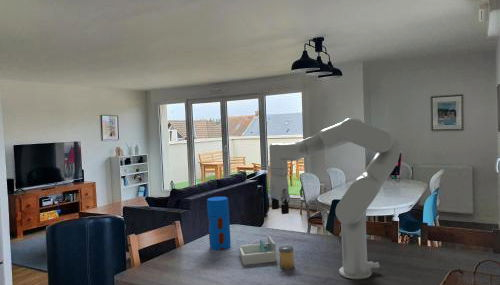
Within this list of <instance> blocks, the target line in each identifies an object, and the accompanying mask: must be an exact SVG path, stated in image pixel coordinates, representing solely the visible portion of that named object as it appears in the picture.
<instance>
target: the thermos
mask: <svg viewBox="0 0 500 285" xmlns="http://www.w3.org/2000/svg"><path fill="white" fill-rule="evenodd" d="M206 205H207V206H206V207H207V221H208V223H207V224H208V225H207V226H208V237H209V238H208V239H209V240H208V241H209V249H210V250H212V251H224V250H228V249H230V248H231V226H230V225H231V224H230V211H229V210H230V208H229V198H228V196H227V197H226V196H213V197H209V198H207V200H206Z"/></svg>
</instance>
